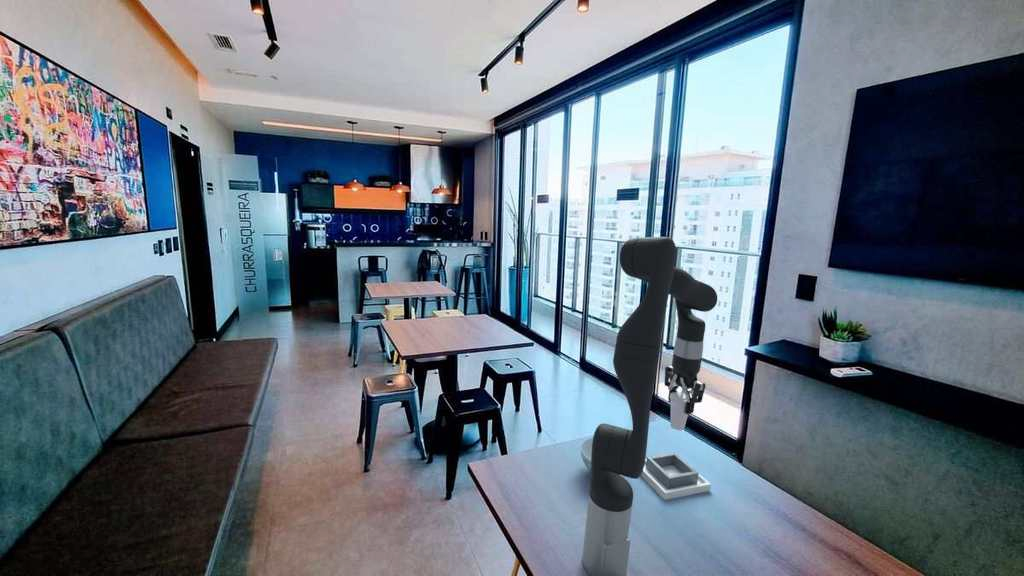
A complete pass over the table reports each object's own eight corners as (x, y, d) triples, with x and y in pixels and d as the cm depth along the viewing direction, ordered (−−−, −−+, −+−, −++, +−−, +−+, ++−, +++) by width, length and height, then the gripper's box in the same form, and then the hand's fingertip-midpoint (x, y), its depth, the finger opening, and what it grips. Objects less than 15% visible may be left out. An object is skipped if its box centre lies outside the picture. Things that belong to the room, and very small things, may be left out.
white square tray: (710, 490, 118) (712, 476, 118) (664, 500, 114) (666, 485, 113) (675, 460, 132) (677, 447, 132) (633, 467, 128) (634, 454, 127)
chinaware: (624, 461, 130) (626, 439, 129) (632, 493, 116) (635, 469, 114) (577, 456, 132) (579, 435, 130) (579, 487, 117) (582, 463, 116)
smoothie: (666, 429, 118) (672, 384, 115) (665, 419, 124) (671, 376, 121) (689, 434, 116) (696, 389, 113) (688, 424, 122) (694, 380, 119)
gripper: (717, 361, 110) (708, 418, 113) (680, 344, 123) (673, 395, 126) (695, 363, 108) (686, 421, 111) (660, 345, 121) (653, 398, 124)
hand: (679, 407), depth 119 cm, fingers closed on smoothie, 6 cm apart
